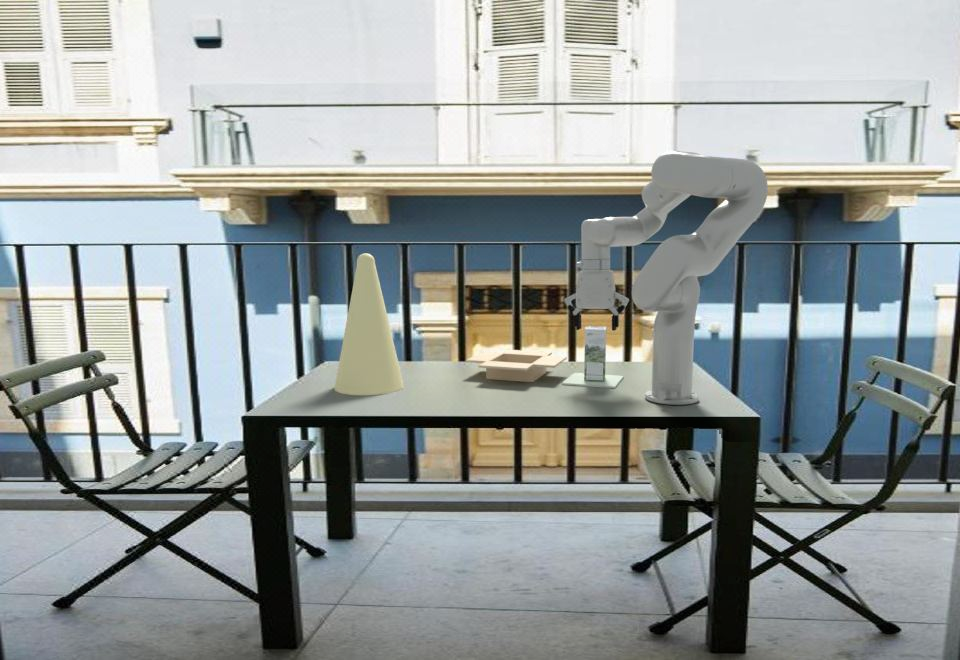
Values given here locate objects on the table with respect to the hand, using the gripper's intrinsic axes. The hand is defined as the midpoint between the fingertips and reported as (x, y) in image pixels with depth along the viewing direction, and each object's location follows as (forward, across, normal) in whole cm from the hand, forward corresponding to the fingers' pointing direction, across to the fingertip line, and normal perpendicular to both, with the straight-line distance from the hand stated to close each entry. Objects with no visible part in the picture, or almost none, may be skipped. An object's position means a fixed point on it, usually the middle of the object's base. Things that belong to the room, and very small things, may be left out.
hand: (596, 329), depth 189 cm
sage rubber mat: (+14, -1, +1) cm, 14 cm away
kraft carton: (+14, -23, +1) cm, 27 cm away
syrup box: (+14, -1, +1) cm, 14 cm away
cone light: (+13, -57, -23) cm, 63 cm away
